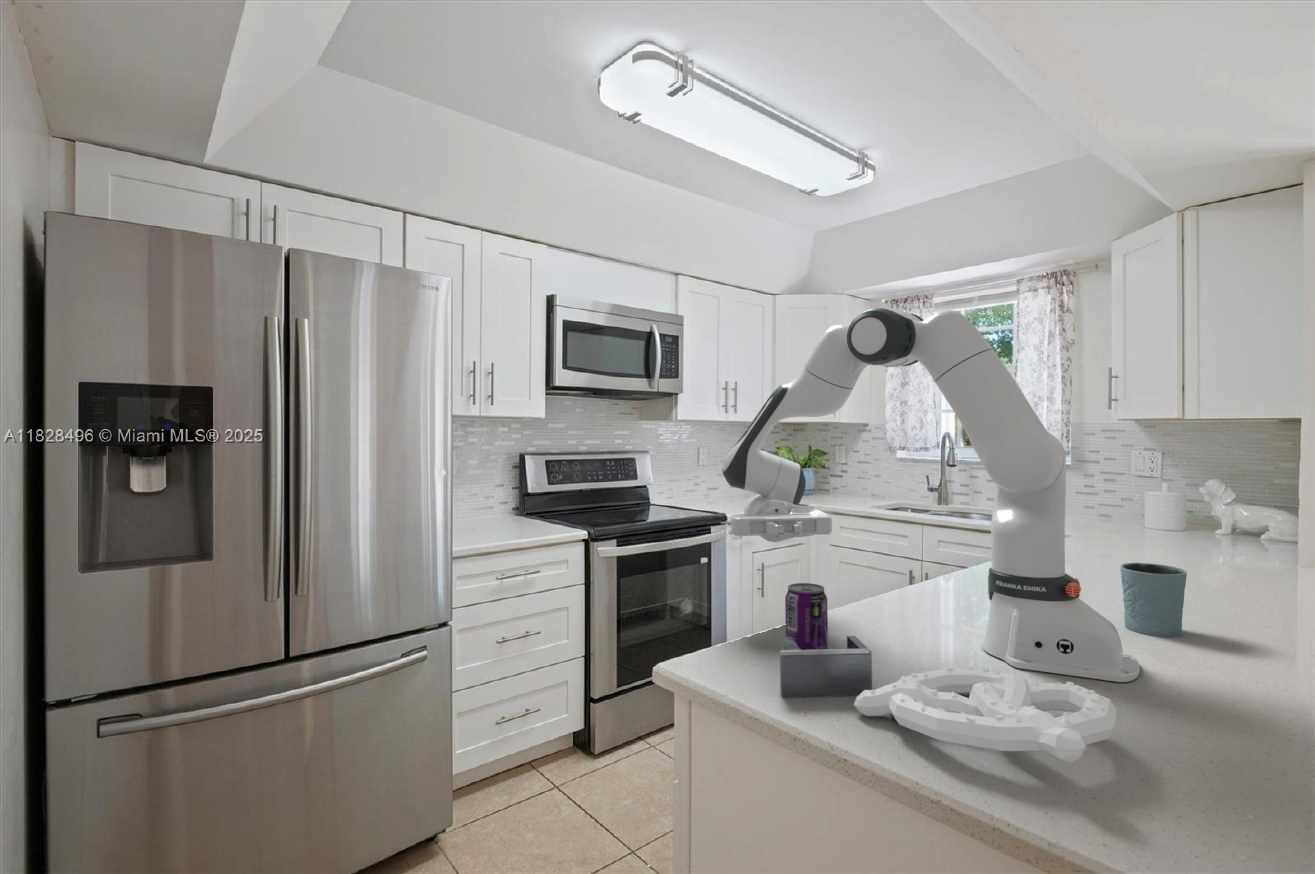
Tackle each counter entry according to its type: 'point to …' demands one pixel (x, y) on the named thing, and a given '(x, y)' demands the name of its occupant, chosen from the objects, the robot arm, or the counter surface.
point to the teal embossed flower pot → (1153, 598)
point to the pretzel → (994, 711)
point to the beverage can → (807, 616)
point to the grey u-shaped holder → (825, 670)
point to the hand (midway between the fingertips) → (788, 530)
